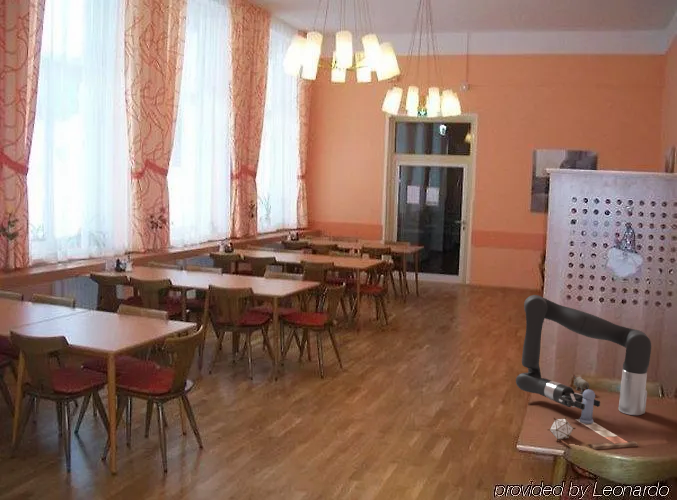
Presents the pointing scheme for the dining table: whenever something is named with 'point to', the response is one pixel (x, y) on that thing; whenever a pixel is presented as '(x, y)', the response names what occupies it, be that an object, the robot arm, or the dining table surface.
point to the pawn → (587, 407)
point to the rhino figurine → (581, 384)
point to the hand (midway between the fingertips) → (591, 405)
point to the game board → (608, 435)
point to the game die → (561, 428)
